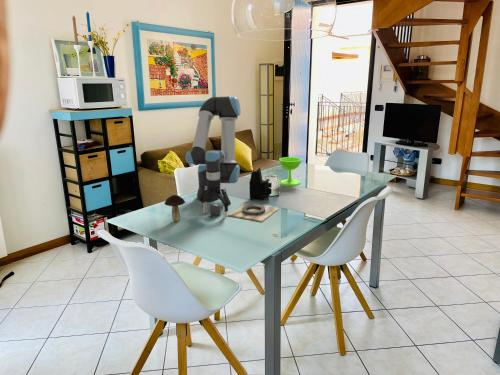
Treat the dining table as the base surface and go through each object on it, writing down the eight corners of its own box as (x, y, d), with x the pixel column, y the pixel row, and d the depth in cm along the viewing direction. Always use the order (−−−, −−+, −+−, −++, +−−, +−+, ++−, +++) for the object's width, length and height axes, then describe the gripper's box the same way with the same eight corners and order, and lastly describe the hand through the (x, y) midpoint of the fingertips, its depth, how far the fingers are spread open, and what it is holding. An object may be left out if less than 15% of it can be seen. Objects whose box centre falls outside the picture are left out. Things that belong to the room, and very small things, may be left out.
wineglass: (301, 185, 258) (302, 161, 253) (279, 186, 258) (279, 161, 253) (299, 180, 273) (299, 156, 268) (278, 180, 273) (278, 157, 268)
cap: (207, 216, 203) (207, 205, 201) (213, 212, 208) (213, 202, 206) (216, 217, 200) (216, 207, 199) (222, 214, 205) (222, 204, 204)
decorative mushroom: (177, 216, 204) (175, 191, 199) (190, 220, 197) (188, 194, 193) (162, 222, 195) (159, 195, 191) (175, 226, 189) (172, 199, 184)
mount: (227, 215, 203) (227, 212, 202) (246, 204, 221) (246, 200, 221) (262, 222, 193) (262, 218, 192) (279, 209, 211) (279, 205, 210)
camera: (270, 201, 226) (270, 170, 220) (249, 200, 228) (248, 169, 223) (272, 196, 235) (272, 166, 229) (252, 195, 238) (251, 166, 232)
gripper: (191, 178, 201) (193, 213, 207) (229, 182, 189) (230, 220, 195) (199, 175, 207) (201, 209, 213) (236, 179, 196) (237, 216, 201)
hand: (215, 214), depth 204 cm, fingers open, 13 cm apart
